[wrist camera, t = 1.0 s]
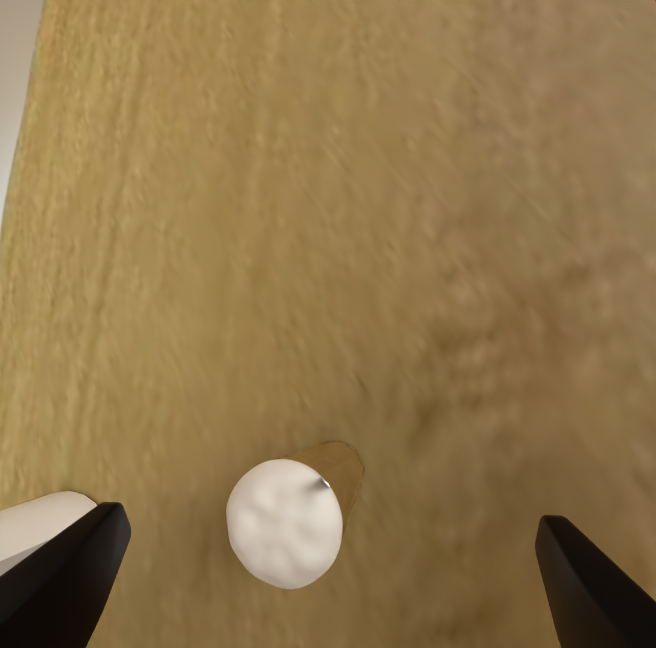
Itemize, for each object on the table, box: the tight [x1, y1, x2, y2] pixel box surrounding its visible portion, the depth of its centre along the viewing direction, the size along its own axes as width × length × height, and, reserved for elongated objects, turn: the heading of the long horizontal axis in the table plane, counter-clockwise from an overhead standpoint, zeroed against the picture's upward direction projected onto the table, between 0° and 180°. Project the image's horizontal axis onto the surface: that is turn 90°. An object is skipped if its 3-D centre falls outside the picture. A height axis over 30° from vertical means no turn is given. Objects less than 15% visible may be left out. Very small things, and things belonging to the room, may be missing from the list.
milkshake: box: [226, 441, 364, 589], centre depth 19 cm, size 4×5×10 cm
